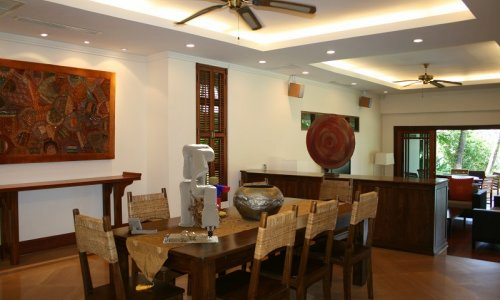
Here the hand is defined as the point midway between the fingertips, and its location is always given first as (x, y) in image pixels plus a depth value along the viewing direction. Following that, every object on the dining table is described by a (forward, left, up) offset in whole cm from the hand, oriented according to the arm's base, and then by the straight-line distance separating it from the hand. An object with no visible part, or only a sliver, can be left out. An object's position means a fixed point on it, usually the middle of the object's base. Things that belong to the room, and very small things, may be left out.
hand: (210, 237), depth 254 cm
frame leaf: (0, -20, -1) cm, 20 cm away
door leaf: (0, -6, -1) cm, 7 cm away
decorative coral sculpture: (-43, -3, -2) cm, 43 cm away
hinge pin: (0, -26, -1) cm, 26 cm away
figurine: (-85, +5, -2) cm, 86 cm away
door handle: (-24, -43, -2) cm, 49 cm away
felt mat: (0, -12, -2) cm, 12 cm away
